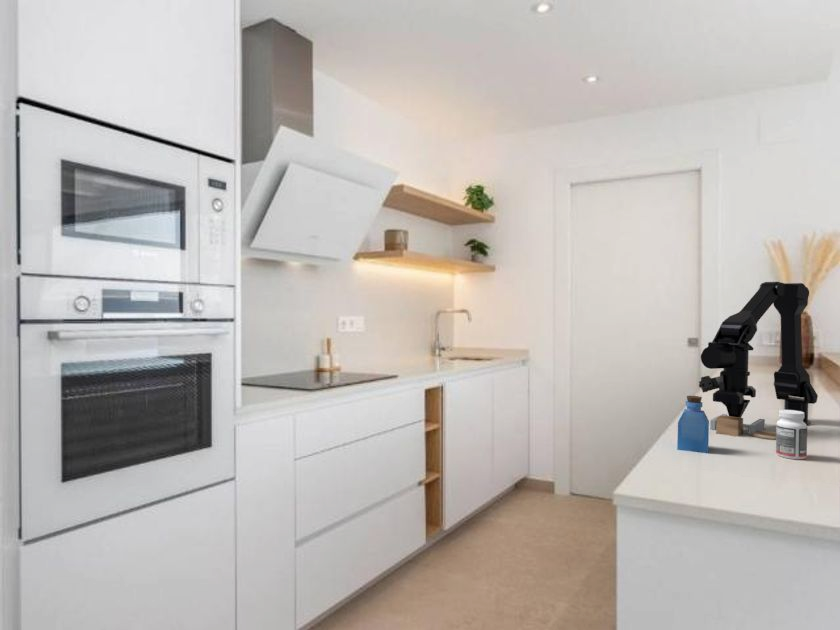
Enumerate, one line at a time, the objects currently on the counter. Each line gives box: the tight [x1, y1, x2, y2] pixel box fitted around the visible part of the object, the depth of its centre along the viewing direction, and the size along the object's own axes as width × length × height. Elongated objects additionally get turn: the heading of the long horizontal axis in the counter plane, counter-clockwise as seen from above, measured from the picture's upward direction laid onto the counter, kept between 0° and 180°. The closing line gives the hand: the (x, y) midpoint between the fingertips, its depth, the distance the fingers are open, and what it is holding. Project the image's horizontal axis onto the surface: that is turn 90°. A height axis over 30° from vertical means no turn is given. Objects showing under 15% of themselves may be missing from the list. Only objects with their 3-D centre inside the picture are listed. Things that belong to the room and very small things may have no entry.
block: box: [715, 414, 744, 437], centre depth 151 cm, size 5×5×4 cm
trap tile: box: [743, 423, 750, 429], centre depth 160 cm, size 3×7×1 cm, turn 49°
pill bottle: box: [775, 409, 808, 460], centre depth 128 cm, size 6×6×10 cm
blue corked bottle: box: [676, 395, 710, 454], centre depth 134 cm, size 6×6×12 cm
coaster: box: [750, 429, 776, 441], centre depth 148 cm, size 8×8×1 cm
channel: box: [709, 413, 766, 436], centre depth 156 cm, size 12×10×2 cm
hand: (733, 426), depth 154 cm, fingers closed
